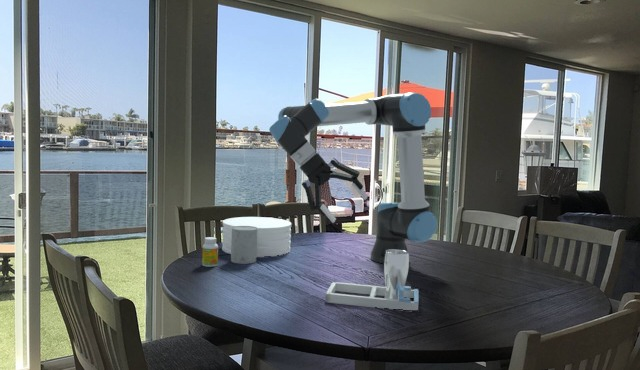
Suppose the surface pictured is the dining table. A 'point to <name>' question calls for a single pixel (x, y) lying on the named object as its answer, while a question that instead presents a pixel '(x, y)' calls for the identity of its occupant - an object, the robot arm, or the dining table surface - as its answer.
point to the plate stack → (261, 234)
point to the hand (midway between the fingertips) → (350, 209)
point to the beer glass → (395, 273)
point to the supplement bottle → (210, 252)
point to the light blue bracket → (416, 298)
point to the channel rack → (367, 301)
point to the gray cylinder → (244, 244)
